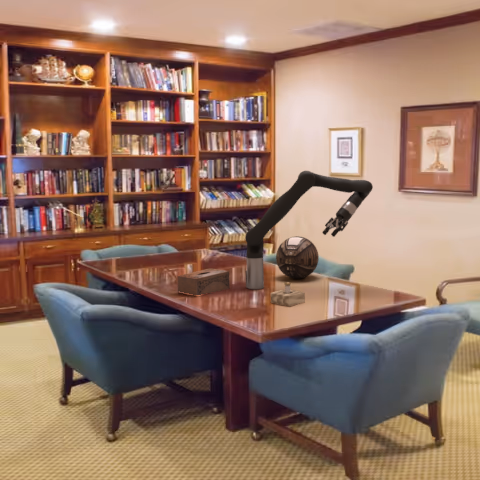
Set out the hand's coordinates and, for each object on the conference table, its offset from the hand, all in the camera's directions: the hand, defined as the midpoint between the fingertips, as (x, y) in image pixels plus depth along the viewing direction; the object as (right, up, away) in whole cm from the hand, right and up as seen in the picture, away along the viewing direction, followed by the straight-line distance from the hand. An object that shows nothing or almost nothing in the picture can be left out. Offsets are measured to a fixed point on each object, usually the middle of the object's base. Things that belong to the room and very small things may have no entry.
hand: (328, 234), depth 316 cm
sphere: (-12, -26, +42) cm, 51 cm away
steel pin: (-22, -34, -15) cm, 43 cm away
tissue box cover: (-66, -31, +15) cm, 74 cm away
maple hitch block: (-22, -34, -16) cm, 43 cm away
